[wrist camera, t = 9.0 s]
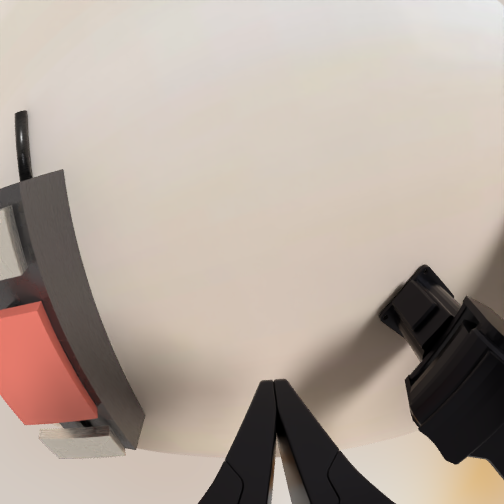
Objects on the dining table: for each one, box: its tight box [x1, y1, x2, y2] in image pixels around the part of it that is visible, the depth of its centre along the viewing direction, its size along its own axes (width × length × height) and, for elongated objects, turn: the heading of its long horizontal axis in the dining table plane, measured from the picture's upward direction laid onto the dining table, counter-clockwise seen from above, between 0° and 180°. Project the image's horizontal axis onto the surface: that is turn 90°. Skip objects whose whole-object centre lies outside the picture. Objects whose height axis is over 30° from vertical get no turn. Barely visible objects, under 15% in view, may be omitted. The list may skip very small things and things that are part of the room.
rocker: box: [0, 301, 98, 425], centre depth 16 cm, size 9×12×1 cm
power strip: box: [0, 111, 145, 459], centre depth 17 cm, size 10×35×10 cm, turn 3°
